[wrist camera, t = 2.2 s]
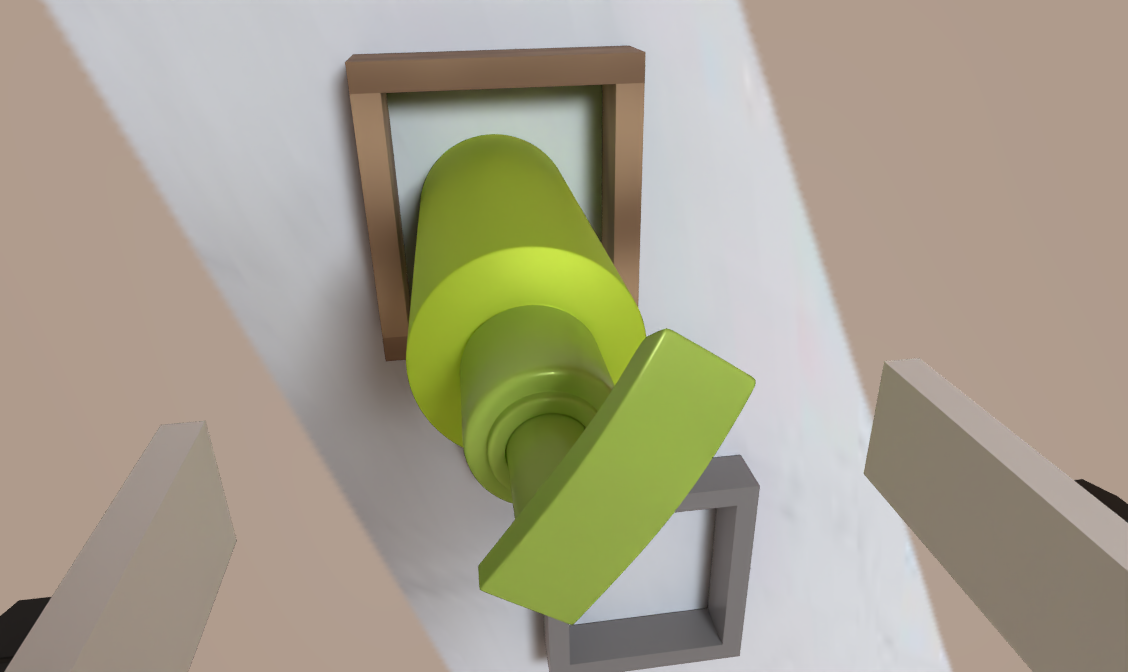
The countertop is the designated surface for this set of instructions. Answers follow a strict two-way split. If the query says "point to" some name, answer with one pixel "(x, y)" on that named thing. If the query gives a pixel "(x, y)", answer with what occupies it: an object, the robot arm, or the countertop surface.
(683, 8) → the countertop surface
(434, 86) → the walnut holder
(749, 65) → the countertop surface
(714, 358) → the soap dispenser
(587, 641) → the keeper frame
